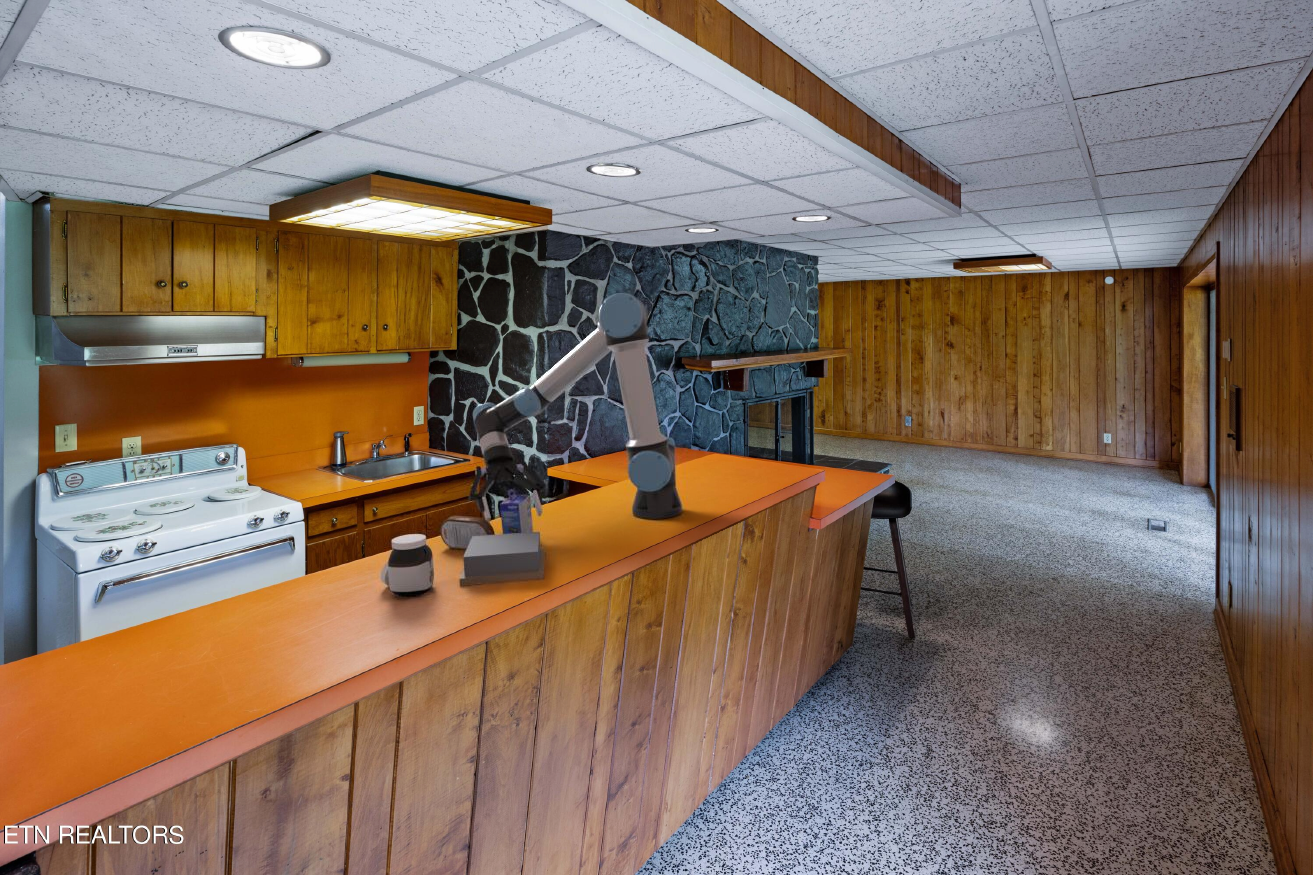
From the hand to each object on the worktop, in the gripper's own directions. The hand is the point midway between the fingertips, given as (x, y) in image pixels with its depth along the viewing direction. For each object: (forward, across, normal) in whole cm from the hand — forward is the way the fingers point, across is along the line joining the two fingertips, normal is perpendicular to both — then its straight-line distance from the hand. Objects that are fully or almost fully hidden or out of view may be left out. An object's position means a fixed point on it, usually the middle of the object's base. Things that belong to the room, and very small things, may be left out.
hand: (515, 517), depth 170 cm
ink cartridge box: (+5, -1, -6) cm, 8 cm away
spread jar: (+19, +29, +8) cm, 36 cm away
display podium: (+17, +8, +7) cm, 20 cm away
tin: (+3, +12, -8) cm, 14 cm away
